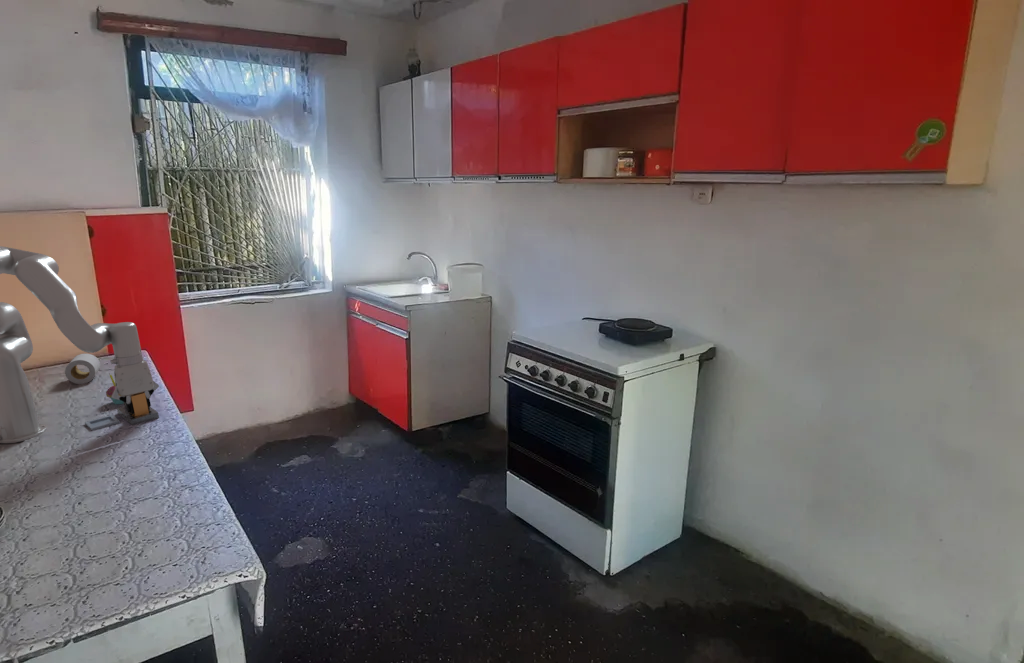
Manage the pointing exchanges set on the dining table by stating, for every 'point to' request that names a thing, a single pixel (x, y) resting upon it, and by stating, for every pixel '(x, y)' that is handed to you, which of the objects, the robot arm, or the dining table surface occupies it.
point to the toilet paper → (79, 376)
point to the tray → (102, 422)
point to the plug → (139, 404)
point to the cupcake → (110, 392)
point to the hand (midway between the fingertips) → (139, 410)
